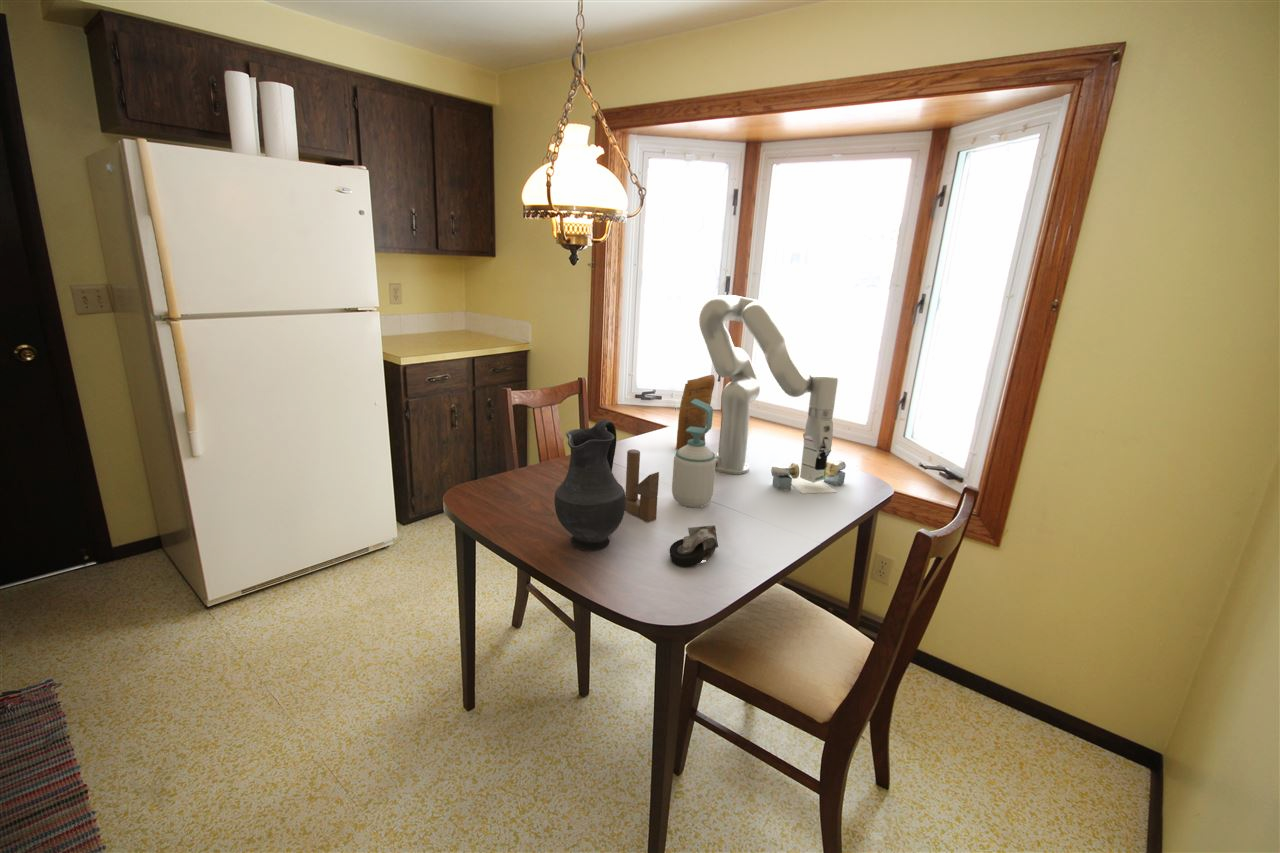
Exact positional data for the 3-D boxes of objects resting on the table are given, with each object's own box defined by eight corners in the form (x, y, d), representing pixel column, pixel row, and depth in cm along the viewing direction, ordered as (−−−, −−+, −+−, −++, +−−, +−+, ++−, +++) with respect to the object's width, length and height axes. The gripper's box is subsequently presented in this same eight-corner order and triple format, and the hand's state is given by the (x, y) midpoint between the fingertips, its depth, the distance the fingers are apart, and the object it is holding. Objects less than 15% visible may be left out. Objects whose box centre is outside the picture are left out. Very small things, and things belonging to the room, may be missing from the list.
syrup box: (814, 483, 178) (820, 440, 174) (799, 477, 183) (804, 435, 178) (824, 479, 181) (830, 437, 177) (809, 474, 186) (815, 432, 182)
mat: (801, 493, 176) (802, 493, 176) (785, 479, 187) (785, 478, 187) (836, 492, 178) (836, 491, 178) (818, 478, 190) (818, 477, 189)
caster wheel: (671, 575, 131) (673, 549, 140) (718, 572, 129) (718, 546, 138) (666, 553, 128) (669, 527, 137) (715, 549, 126) (715, 523, 135)
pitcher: (542, 549, 135) (541, 431, 127) (581, 515, 154) (583, 411, 145) (606, 565, 129) (610, 443, 121) (639, 528, 148) (644, 420, 139)
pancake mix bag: (715, 444, 221) (721, 375, 213) (681, 453, 209) (686, 380, 201) (702, 440, 226) (708, 372, 218) (669, 448, 214) (673, 377, 206)
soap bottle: (678, 490, 174) (684, 394, 165) (716, 498, 170) (725, 399, 161) (665, 505, 163) (672, 402, 154) (706, 513, 159) (715, 408, 150)
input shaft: (774, 490, 178) (777, 467, 175) (768, 484, 182) (770, 461, 180) (797, 489, 179) (800, 466, 177) (790, 483, 184) (793, 460, 182)
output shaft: (833, 487, 182) (837, 464, 180) (820, 482, 186) (823, 460, 183) (846, 482, 187) (849, 460, 185) (832, 478, 191) (835, 456, 188)
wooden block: (647, 523, 151) (650, 461, 146) (621, 509, 159) (623, 450, 154) (656, 519, 154) (660, 458, 149) (631, 506, 161) (633, 447, 156)
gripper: (846, 419, 168) (838, 474, 173) (817, 405, 185) (811, 455, 190) (823, 420, 167) (816, 475, 172) (797, 406, 183) (790, 456, 188)
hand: (813, 464), depth 181 cm, fingers closed on syrup box, 7 cm apart
